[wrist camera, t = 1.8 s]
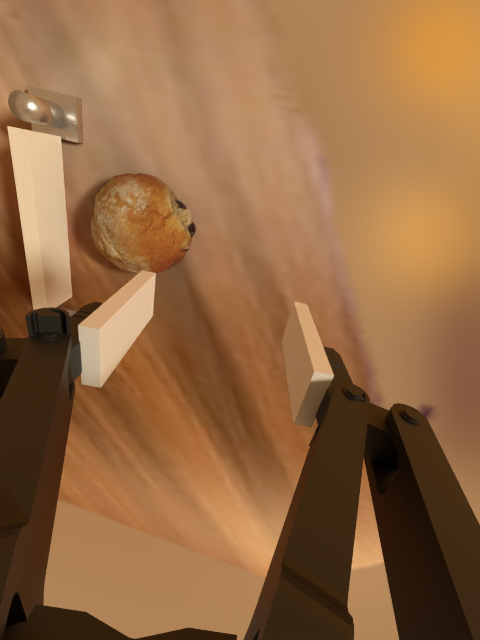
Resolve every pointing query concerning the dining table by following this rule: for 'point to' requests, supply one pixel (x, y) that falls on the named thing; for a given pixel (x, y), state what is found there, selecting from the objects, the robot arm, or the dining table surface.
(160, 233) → the bread roll
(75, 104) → the grey small pieces
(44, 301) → the gate
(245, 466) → the dining table surface
